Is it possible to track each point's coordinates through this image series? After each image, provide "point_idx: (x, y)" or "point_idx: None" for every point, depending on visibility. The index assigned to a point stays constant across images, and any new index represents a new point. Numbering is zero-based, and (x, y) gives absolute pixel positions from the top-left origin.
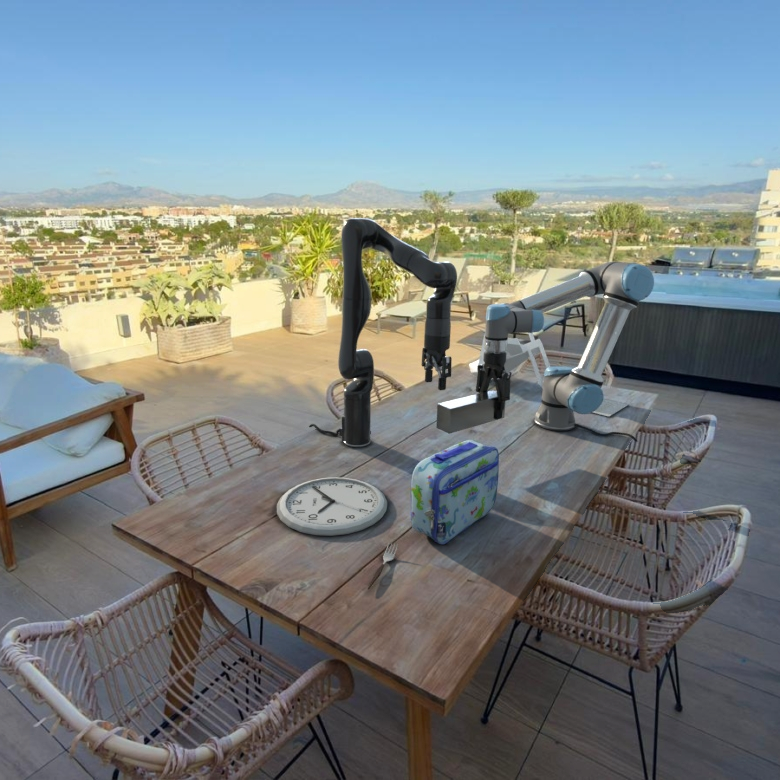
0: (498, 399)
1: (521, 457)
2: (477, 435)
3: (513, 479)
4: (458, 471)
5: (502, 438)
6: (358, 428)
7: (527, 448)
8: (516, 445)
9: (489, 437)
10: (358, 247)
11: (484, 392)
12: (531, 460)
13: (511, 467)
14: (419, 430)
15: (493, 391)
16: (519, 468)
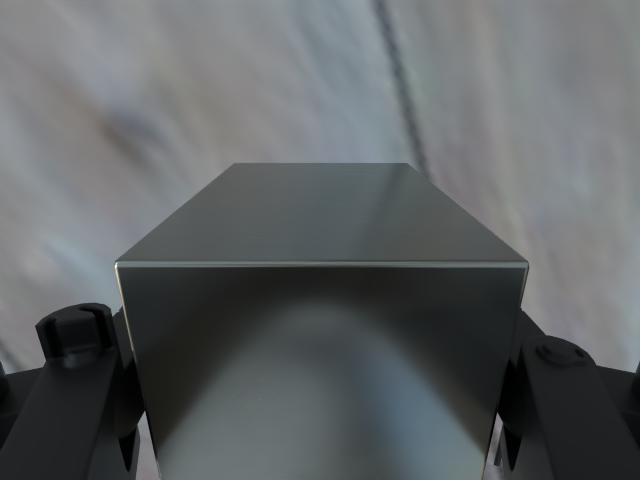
0: (512, 451)
1: (548, 182)
2: (194, 158)
3: (629, 369)
4: None
5: (310, 57)
6: None
7: (508, 47)
8: (436, 71)
9: (254, 118)
10: None
11: (171, 472)
12: (606, 167)
13: (569, 302)
14: (8, 357)
15: (201, 314)
16: (602, 282)
